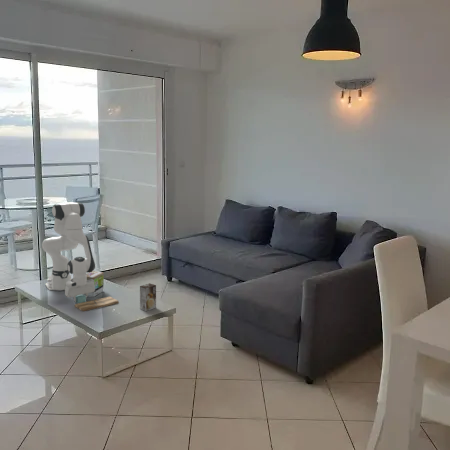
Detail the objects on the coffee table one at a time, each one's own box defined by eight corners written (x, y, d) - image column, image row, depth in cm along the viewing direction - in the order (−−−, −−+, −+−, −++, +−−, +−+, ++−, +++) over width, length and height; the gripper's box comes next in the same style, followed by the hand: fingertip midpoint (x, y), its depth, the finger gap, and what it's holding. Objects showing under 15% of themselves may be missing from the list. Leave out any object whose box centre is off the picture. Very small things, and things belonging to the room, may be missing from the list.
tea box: (94, 297, 323) (94, 277, 320) (81, 296, 324) (80, 276, 322) (104, 291, 337) (103, 271, 335) (91, 289, 339) (91, 270, 336)
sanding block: (75, 302, 311) (74, 295, 310) (81, 301, 314) (81, 294, 314) (79, 304, 307) (78, 297, 306) (85, 303, 310) (85, 296, 309)
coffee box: (149, 305, 310) (149, 282, 308) (156, 307, 307) (156, 284, 304) (139, 309, 303) (139, 285, 300) (146, 311, 299) (146, 288, 297)
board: (74, 306, 304) (74, 304, 303) (109, 298, 321) (109, 296, 321) (83, 311, 295) (83, 309, 295) (118, 303, 313) (118, 300, 313)
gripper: (91, 277, 317) (92, 296, 320) (63, 282, 303) (64, 302, 306) (96, 279, 313) (96, 298, 315) (67, 284, 299) (68, 305, 301)
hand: (80, 300), depth 310 cm, fingers closed on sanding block, 5 cm apart
